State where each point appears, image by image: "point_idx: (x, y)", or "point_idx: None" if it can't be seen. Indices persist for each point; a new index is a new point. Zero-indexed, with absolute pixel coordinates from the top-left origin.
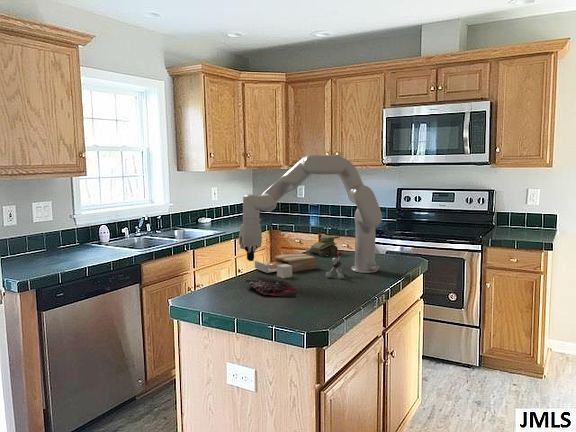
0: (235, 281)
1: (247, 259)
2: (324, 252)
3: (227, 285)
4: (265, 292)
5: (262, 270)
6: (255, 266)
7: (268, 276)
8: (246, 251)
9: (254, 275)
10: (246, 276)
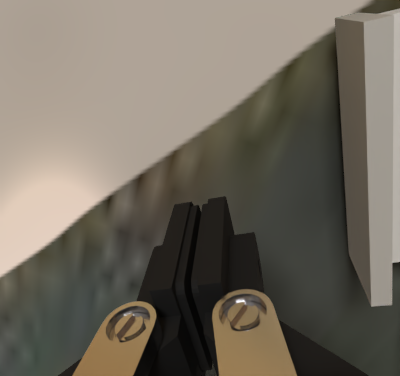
0: (63, 305)
1: (175, 209)
2: None
3: (12, 353)
4: None
5: (346, 187)
6: (341, 34)
7: (331, 281)
8: (118, 326)
9: (237, 217)
10: (163, 222)
